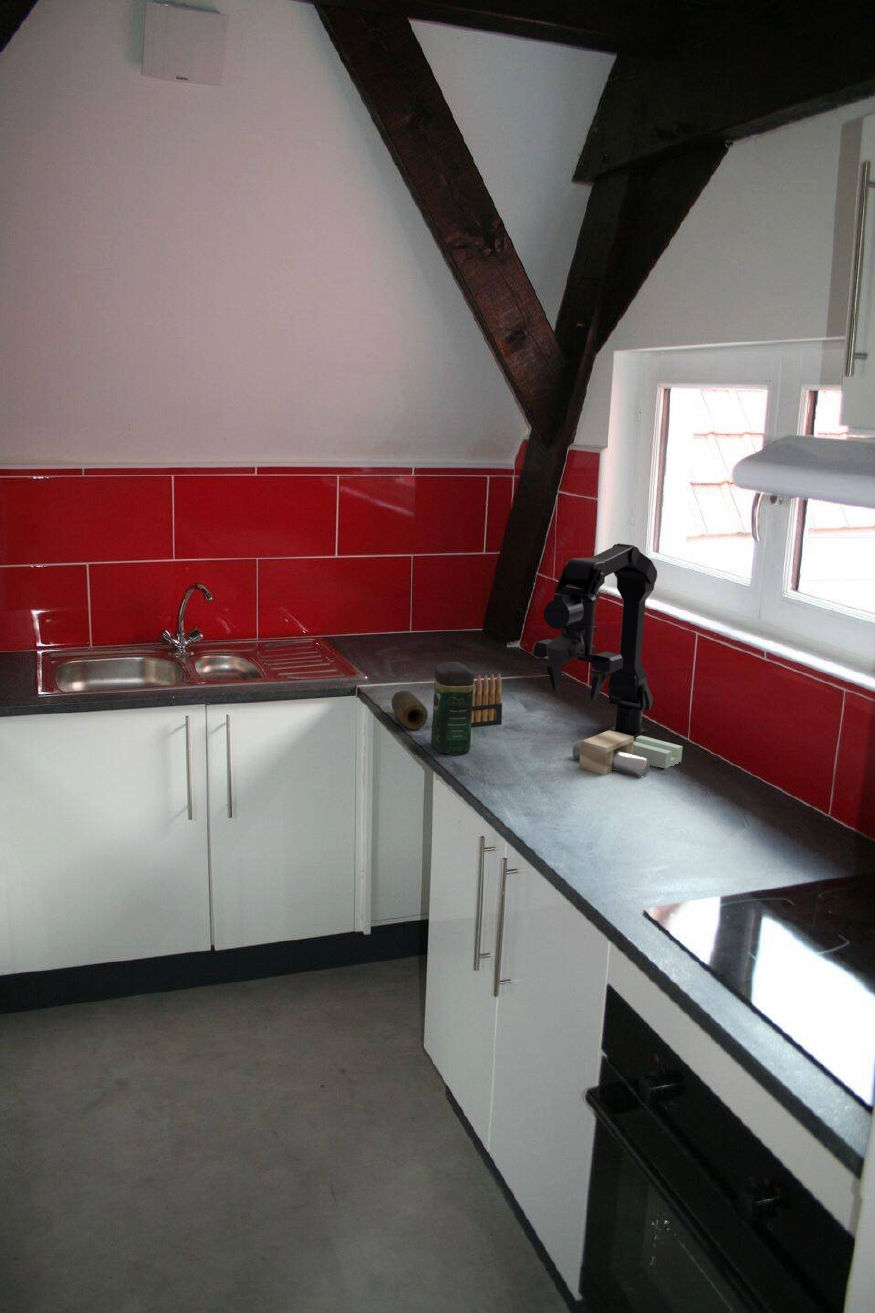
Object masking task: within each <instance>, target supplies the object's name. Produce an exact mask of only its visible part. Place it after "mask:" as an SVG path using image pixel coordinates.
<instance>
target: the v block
mask: <svg viewBox="0 0 875 1313" xmlns="http://www.w3.org/2000/svg"><path fill="white" fill-rule="evenodd" d="M683 748H684V747H683V745H678V744H675V743H672V742H668V741H663V740H660V739H656V738H653V737H649V736H645V735H637V736H635V741H634V745H633V755H635V756H639V757H643V758H646V759H648V760H649V762H650V765H652V766H651V767H654V766H658V767H662V768H667V769H669V768H668V767H670V766H672V767H674V766H675V764H676V765H677V764H680V763H682V758H683V757H682V755H683ZM679 762H680V763H679ZM670 768H671V767H670Z"/></svg>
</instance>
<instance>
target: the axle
mask: <svg viewBox="0 0 875 1313" xmlns="http://www.w3.org/2000/svg"><path fill="white" fill-rule="evenodd" d="M581 741H582V740H577V741H576V742H575V743H574V745H573V747H572V757H573V759H575V760H579V761H580V752H581ZM613 769H614V771H618V772H620V773H624V774H627V775H631V776H635V777H638V776H639V777H638V778H641V777H642V776H644V777H646V776H647V775H648V773H649V770H650V762H649V760H648V759H646V758H643V757H639V756H635V755H632V754H628V753H624V752H621V751H617V750H613V761H612V770H613ZM645 775H646V776H645ZM642 778H643V777H642Z"/></svg>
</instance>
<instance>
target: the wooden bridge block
mask: <svg viewBox="0 0 875 1313" xmlns="http://www.w3.org/2000/svg"><path fill="white" fill-rule="evenodd" d="M634 742H635V736H630V735H626V734H622V733H618V732H615V731H611V730H609V729H608V730H606V731H604V732H600V733H599V734H596V735H593V736H591V737H588V738H585V739H583V740H581V752H580V760H579V763H578V764H579V766H578V767H579V769H582V770H584V771H585V770H586V771H589V772H591V773H596V774H599V775H601V776H606V775H608V774H610V773H612V771H613V769H612V761H613V750H617V751H621V752H624V753H628V754H632V755H633V745H634Z"/></svg>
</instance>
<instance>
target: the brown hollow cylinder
mask: <svg viewBox="0 0 875 1313" xmlns="http://www.w3.org/2000/svg"><path fill="white" fill-rule="evenodd" d="M391 708H392V711H393V713H394V714H395V715H396V717H397V718H398V721H400V722H401V724H402V725H403V726H404V727H406V728H408V729H411V730H413V731H414V730H416V731H417V730H419V729H421V728H422V727H423V726H424V725H425V724H426V722H427V720H428V714H429V713H428V709H427V707H426V706H425V705H424V704H423V703H422V702H421V701H420V700H419V698H417V696H415V695H414V694H413V693H412V692H411V691H408V690H400V691H398V692H395V693H394V694H393V696H392V699H391Z"/></svg>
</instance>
